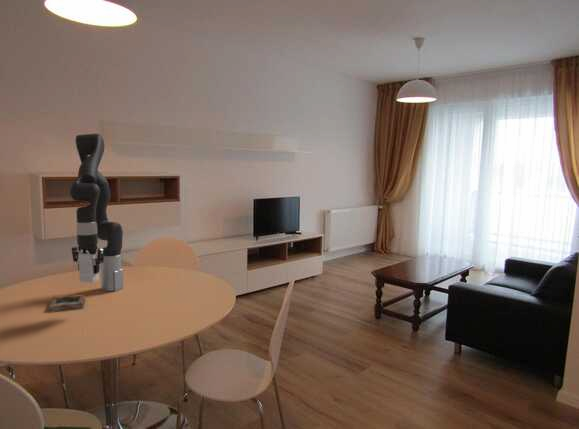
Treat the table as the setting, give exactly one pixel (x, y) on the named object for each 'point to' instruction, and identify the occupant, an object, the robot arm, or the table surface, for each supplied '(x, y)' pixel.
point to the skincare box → (87, 268)
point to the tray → (67, 303)
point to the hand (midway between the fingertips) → (88, 272)
